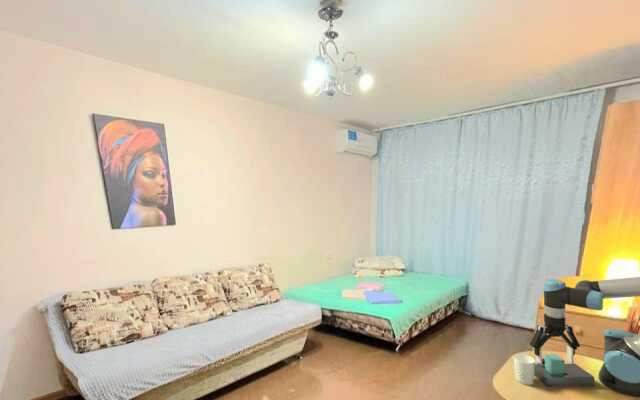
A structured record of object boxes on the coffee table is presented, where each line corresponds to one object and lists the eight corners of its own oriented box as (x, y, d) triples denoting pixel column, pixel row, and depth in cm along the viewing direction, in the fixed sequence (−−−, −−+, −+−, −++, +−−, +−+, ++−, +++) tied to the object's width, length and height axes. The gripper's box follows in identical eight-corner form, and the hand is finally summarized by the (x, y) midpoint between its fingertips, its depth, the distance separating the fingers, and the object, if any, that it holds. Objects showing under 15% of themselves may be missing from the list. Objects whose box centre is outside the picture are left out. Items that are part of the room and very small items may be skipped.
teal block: (556, 375, 138) (556, 354, 138) (564, 382, 133) (564, 360, 133) (544, 375, 138) (544, 354, 138) (552, 382, 133) (552, 360, 133)
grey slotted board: (575, 372, 141) (575, 363, 140) (594, 386, 131) (594, 376, 130) (531, 372, 141) (531, 364, 141) (546, 386, 131) (546, 377, 131)
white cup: (538, 386, 131) (538, 364, 131) (518, 385, 133) (518, 362, 132) (529, 375, 139) (529, 354, 138) (510, 374, 140) (510, 352, 140)
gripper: (576, 311, 138) (576, 357, 139) (520, 312, 139) (520, 357, 140) (590, 318, 131) (590, 366, 132) (531, 319, 131) (531, 367, 132)
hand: (554, 362), depth 136 cm, fingers open, 13 cm apart
